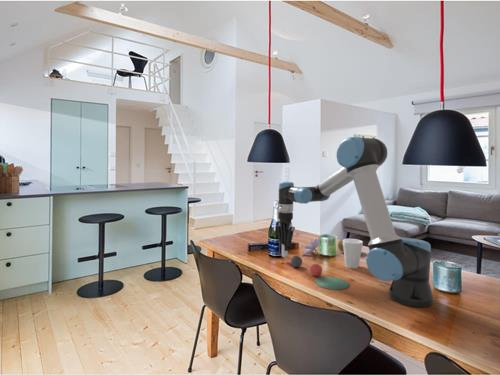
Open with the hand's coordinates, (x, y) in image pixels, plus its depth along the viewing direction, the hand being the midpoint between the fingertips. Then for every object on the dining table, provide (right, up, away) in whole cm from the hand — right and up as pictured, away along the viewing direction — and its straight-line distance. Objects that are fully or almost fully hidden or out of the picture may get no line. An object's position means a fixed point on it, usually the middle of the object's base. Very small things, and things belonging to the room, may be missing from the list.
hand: (284, 256), depth 161 cm
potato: (+39, -2, +18) cm, 43 cm away
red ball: (+12, -2, -20) cm, 24 cm away
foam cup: (+33, -4, -6) cm, 34 cm away
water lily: (+17, -2, +14) cm, 22 cm away
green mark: (+17, -5, -29) cm, 34 cm away
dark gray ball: (+5, -1, -8) cm, 10 cm away
